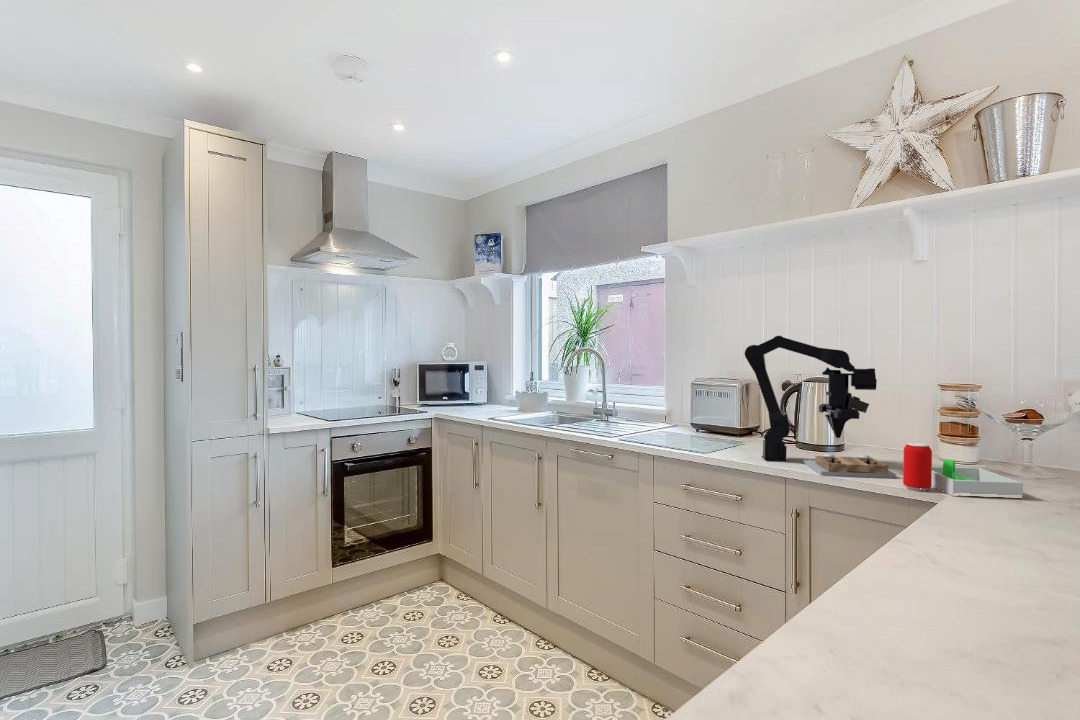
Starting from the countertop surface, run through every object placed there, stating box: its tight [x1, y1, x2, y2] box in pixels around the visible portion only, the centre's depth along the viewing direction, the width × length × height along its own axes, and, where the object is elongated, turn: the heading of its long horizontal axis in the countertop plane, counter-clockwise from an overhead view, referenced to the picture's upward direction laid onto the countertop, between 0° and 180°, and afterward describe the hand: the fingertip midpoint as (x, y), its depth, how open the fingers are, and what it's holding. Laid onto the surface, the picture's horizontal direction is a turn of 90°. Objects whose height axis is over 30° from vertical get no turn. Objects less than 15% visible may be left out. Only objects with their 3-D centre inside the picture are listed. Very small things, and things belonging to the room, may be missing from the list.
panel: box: [814, 455, 889, 473], centre depth 166 cm, size 16×12×2 cm
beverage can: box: [902, 442, 933, 492], centre depth 147 cm, size 6×6×12 cm
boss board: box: [802, 453, 897, 479], centre depth 169 cm, size 20×18×4 cm
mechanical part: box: [942, 458, 975, 481], centre depth 148 cm, size 12×6×8 cm, turn 136°
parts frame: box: [931, 466, 1024, 496], centre depth 146 cm, size 16×17×4 cm
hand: (837, 437), depth 177 cm, fingers closed
